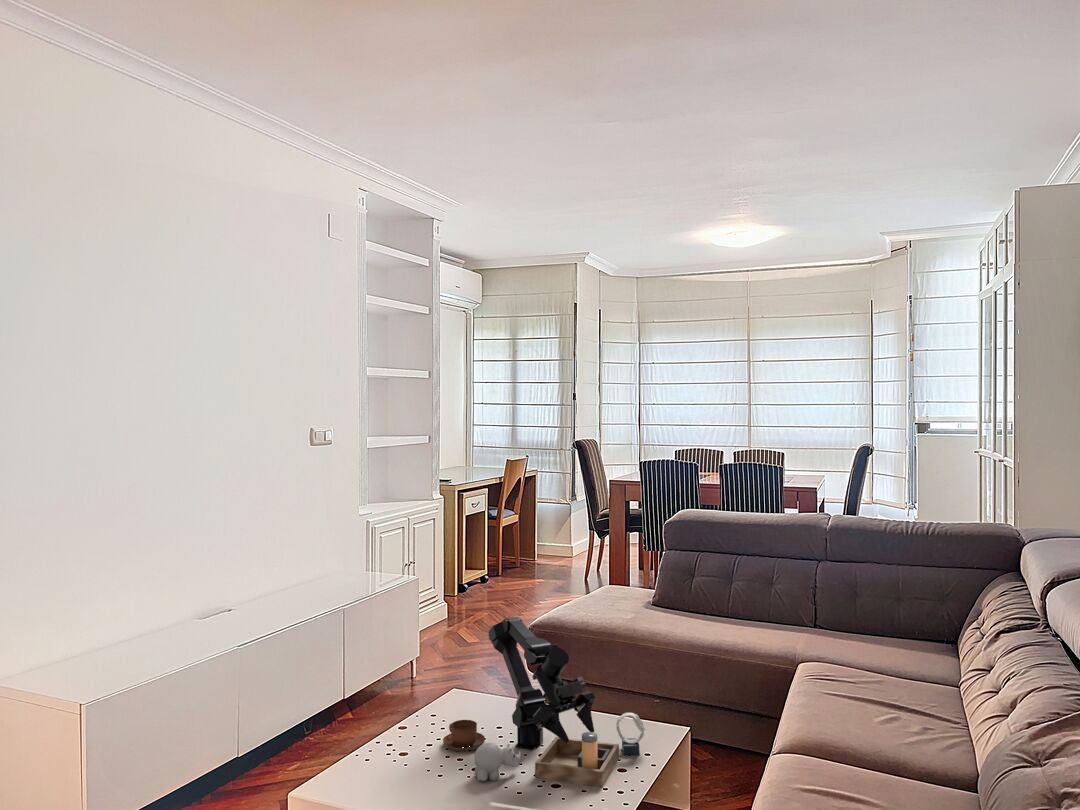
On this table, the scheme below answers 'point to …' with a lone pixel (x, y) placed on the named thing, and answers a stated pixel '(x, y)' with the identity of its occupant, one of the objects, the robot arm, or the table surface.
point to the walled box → (575, 763)
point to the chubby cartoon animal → (493, 760)
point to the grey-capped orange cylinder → (589, 750)
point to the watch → (631, 744)
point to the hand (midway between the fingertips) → (580, 737)
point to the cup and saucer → (463, 736)
